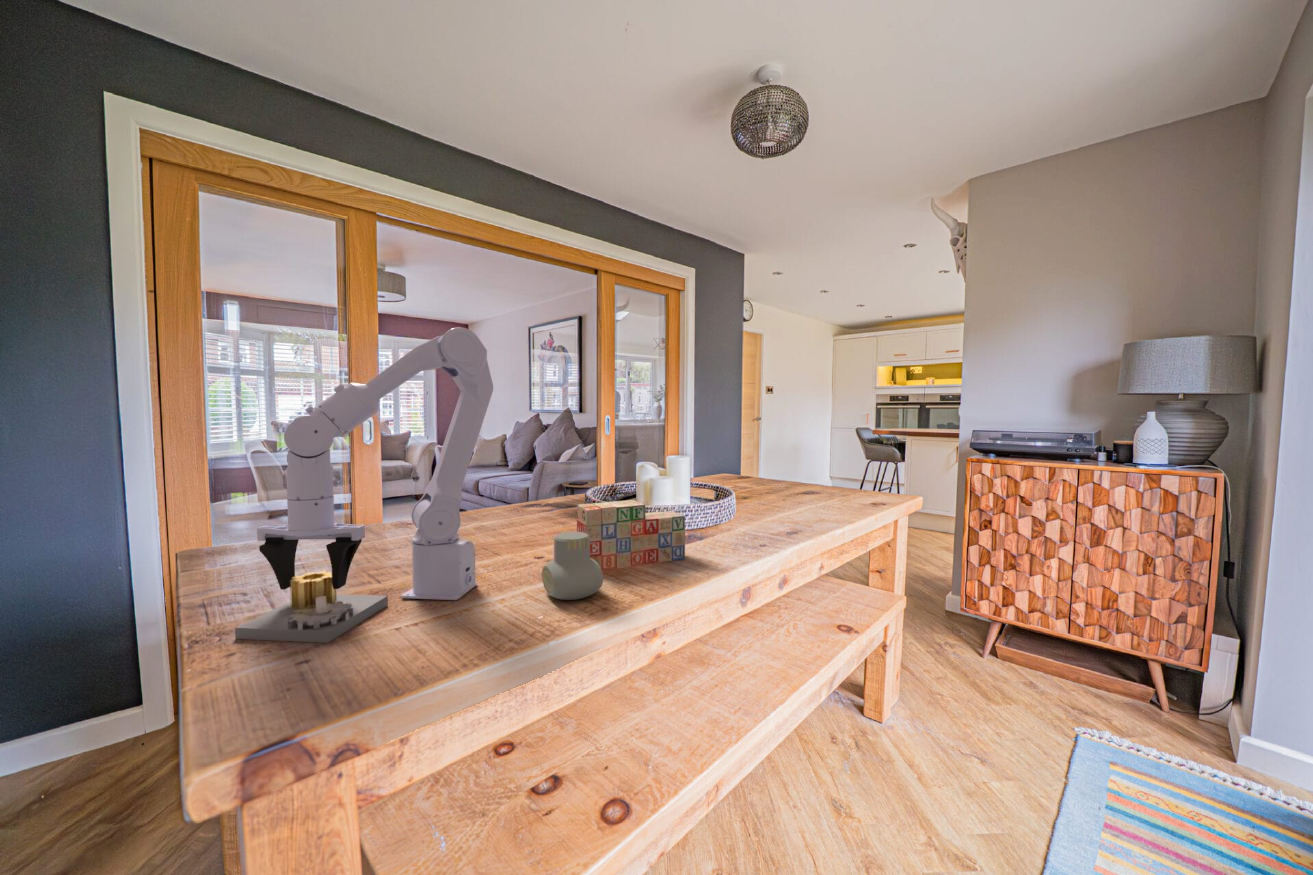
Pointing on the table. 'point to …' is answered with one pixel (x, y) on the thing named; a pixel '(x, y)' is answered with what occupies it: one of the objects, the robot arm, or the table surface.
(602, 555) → the stack of blocks
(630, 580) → the table surface
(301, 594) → the brass gear
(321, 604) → the gear board
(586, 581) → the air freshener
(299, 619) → the gear
